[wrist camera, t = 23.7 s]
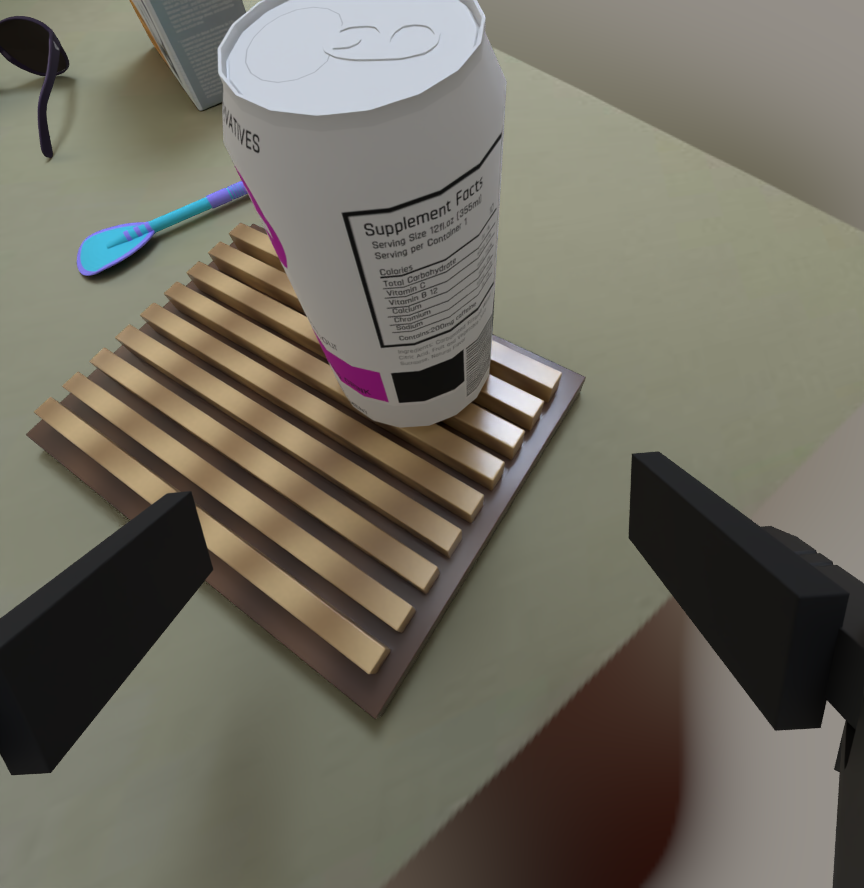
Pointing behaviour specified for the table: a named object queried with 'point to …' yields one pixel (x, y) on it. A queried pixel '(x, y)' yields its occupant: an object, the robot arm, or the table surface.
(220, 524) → the scrub board
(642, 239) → the table surface
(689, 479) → the robot arm
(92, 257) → the spoon
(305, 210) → the supplement can
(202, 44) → the hard drive box
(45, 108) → the sunglasses
